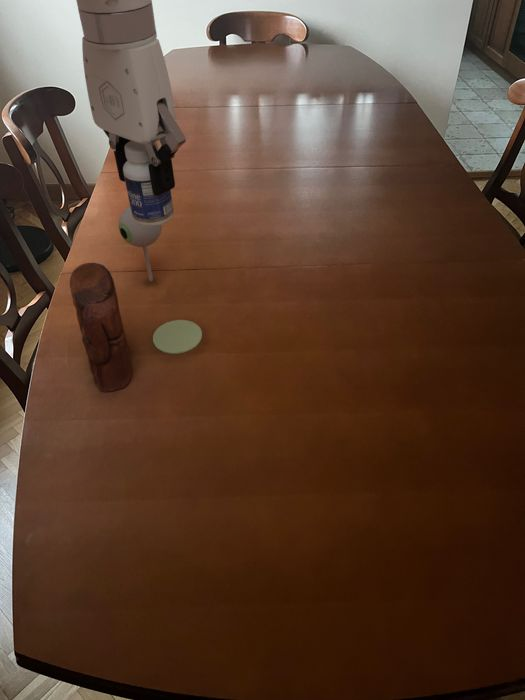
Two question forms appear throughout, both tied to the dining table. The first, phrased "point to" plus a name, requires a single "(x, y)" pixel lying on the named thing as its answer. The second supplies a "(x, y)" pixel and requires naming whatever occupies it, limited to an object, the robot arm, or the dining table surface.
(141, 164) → the pill bottle
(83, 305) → the wooden figurine
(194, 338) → the coaster
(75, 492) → the dining table surface
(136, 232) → the lollipop
